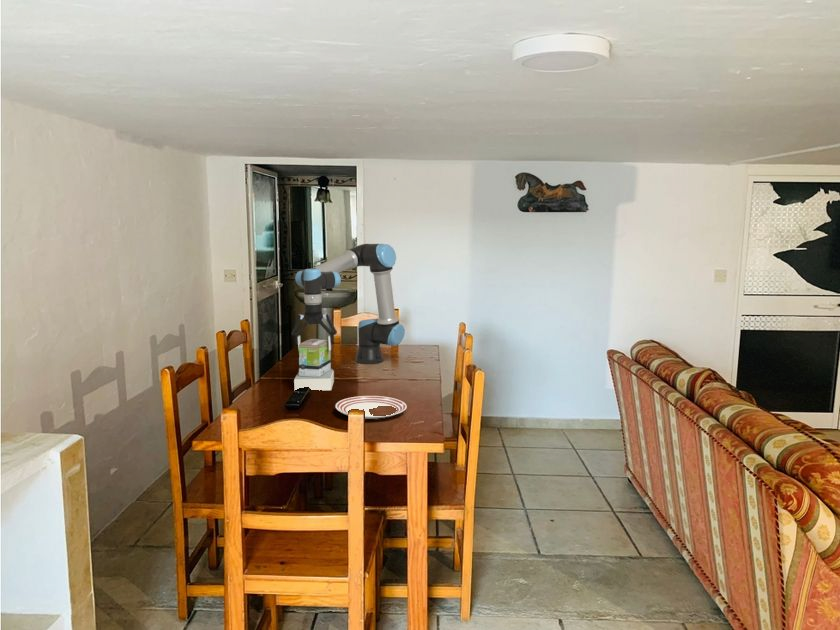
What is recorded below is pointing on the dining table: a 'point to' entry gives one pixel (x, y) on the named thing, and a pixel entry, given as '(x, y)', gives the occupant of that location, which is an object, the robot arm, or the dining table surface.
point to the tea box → (314, 357)
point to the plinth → (315, 381)
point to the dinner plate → (370, 405)
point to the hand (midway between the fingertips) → (314, 350)
